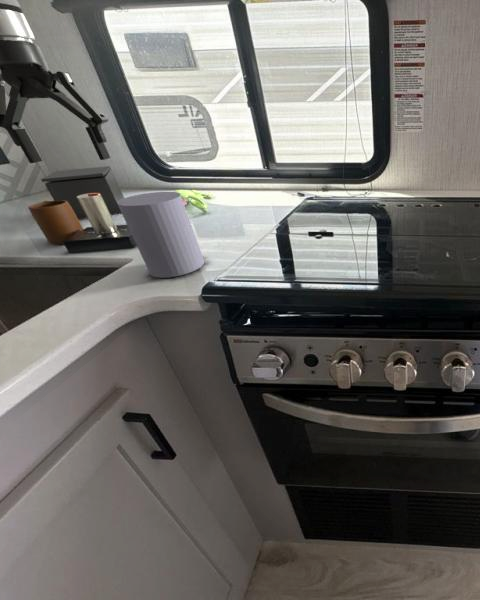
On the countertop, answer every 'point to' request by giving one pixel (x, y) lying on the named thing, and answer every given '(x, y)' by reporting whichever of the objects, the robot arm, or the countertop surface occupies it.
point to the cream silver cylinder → (97, 213)
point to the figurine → (196, 196)
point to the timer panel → (100, 240)
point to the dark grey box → (87, 191)
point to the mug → (56, 220)
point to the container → (162, 233)
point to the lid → (76, 174)
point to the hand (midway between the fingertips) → (71, 160)
